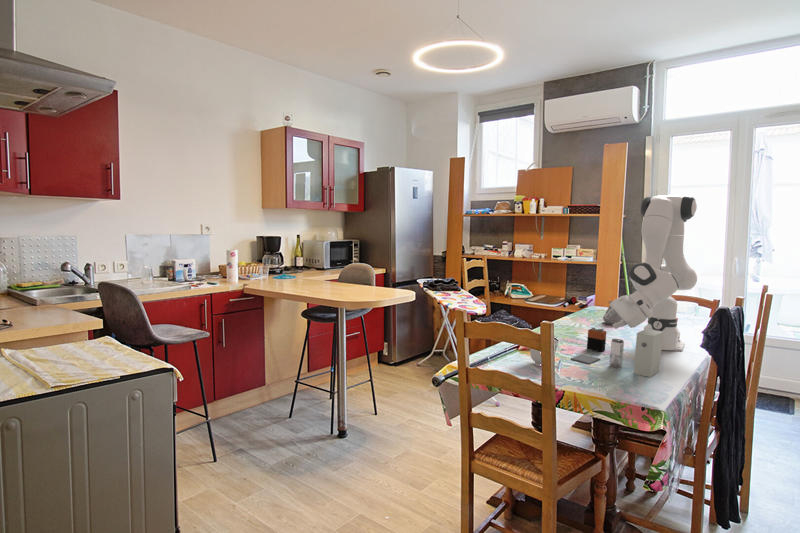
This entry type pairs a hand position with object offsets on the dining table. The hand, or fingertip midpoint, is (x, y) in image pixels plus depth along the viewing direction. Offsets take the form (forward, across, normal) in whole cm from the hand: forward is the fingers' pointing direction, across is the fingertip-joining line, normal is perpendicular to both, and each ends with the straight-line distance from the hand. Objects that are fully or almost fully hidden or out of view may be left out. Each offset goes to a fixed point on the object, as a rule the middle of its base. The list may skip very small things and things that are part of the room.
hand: (609, 322), depth 191 cm
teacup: (+31, +10, -7) cm, 33 cm away
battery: (+12, -15, +17) cm, 26 cm away
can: (+9, +8, +13) cm, 18 cm away
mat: (+17, +1, +8) cm, 19 cm away
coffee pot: (-2, -68, +43) cm, 80 cm away
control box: (+1, +14, +18) cm, 23 cm away
